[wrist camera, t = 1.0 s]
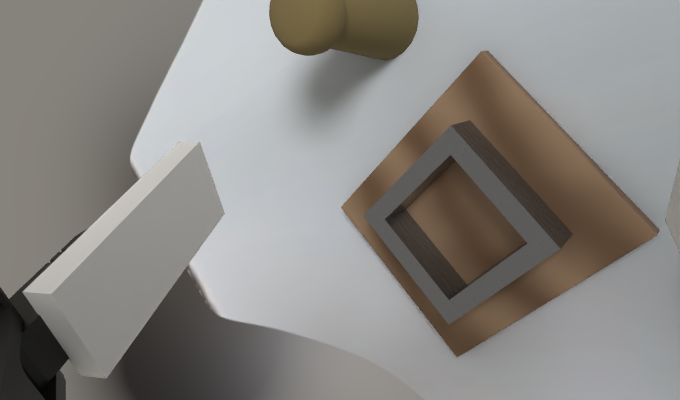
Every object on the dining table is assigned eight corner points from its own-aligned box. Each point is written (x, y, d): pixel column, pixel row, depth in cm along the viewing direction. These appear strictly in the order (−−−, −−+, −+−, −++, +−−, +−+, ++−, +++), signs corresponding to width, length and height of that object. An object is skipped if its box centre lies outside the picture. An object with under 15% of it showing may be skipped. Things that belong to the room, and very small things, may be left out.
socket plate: (488, 51, 35) (462, 51, 32) (659, 229, 31) (650, 251, 28) (348, 204, 46) (318, 216, 42) (463, 350, 42) (439, 376, 39)
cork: (417, 59, 38) (328, 61, 30) (353, 60, 42) (258, 63, 33) (419, -27, 37) (326, -49, 28) (352, -18, 40) (251, -36, 32)
